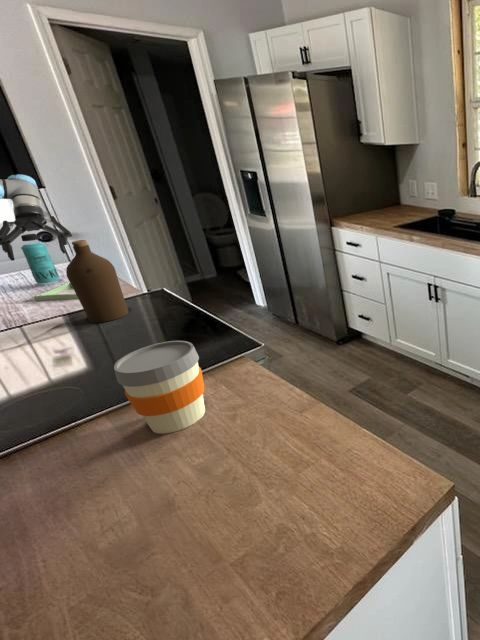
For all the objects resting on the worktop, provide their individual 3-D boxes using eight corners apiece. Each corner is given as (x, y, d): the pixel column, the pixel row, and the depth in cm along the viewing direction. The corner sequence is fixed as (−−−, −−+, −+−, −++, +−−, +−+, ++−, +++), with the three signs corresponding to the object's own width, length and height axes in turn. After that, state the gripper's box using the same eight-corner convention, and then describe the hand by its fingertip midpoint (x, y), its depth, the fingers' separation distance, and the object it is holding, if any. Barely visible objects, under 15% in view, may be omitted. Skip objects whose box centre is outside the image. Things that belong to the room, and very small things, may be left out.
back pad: (36, 302, 143) (33, 296, 142) (71, 288, 156) (68, 282, 155) (80, 300, 144) (77, 294, 144) (110, 286, 157) (107, 280, 156)
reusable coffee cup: (223, 416, 85) (202, 354, 80) (145, 450, 77) (116, 382, 71) (206, 392, 93) (186, 334, 88) (134, 420, 84) (107, 357, 79)
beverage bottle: (33, 286, 158) (9, 236, 150) (54, 280, 164) (33, 231, 156) (45, 288, 156) (22, 237, 149) (66, 282, 162) (45, 232, 155)
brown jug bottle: (139, 312, 135) (111, 238, 126) (101, 326, 125) (67, 247, 116) (117, 308, 138) (88, 235, 129) (78, 321, 129) (44, 244, 119)
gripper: (75, 211, 172) (86, 253, 167) (-16, 220, 157) (-7, 266, 152) (69, 200, 166) (80, 243, 161) (-27, 208, 151) (-18, 256, 146)
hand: (38, 255), depth 156 cm, fingers open, 13 cm apart
